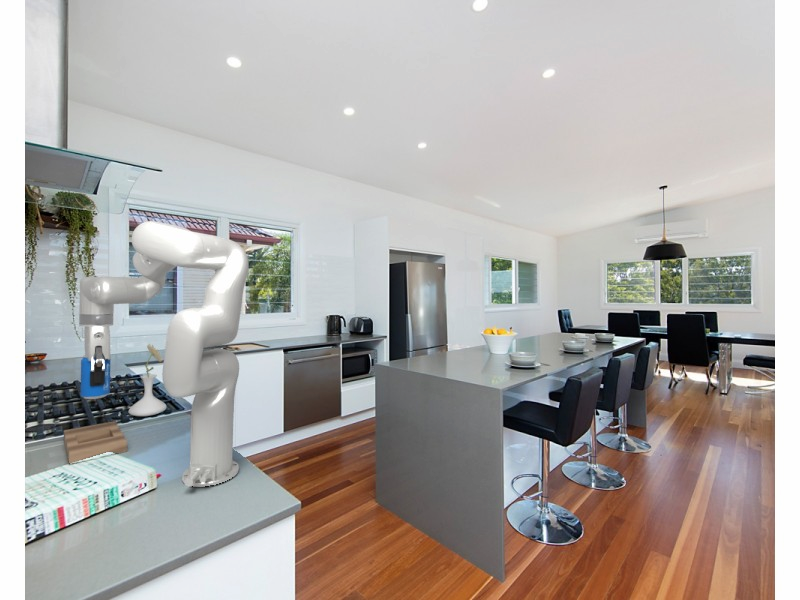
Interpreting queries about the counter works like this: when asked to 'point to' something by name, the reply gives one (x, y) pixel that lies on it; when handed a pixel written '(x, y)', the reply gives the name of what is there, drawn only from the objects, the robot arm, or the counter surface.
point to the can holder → (93, 441)
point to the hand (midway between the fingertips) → (95, 382)
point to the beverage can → (86, 389)
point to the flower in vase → (148, 392)
